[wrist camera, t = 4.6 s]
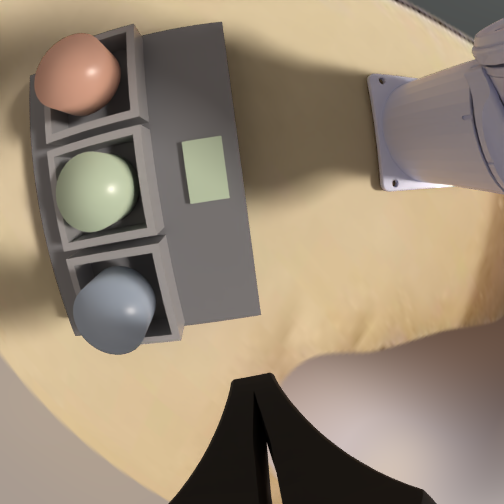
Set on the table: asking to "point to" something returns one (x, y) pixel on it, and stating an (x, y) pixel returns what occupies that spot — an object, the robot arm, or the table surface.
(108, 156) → the sage button
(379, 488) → the robot arm
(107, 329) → the slate button
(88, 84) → the terracotta button
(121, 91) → the console
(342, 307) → the table surface
